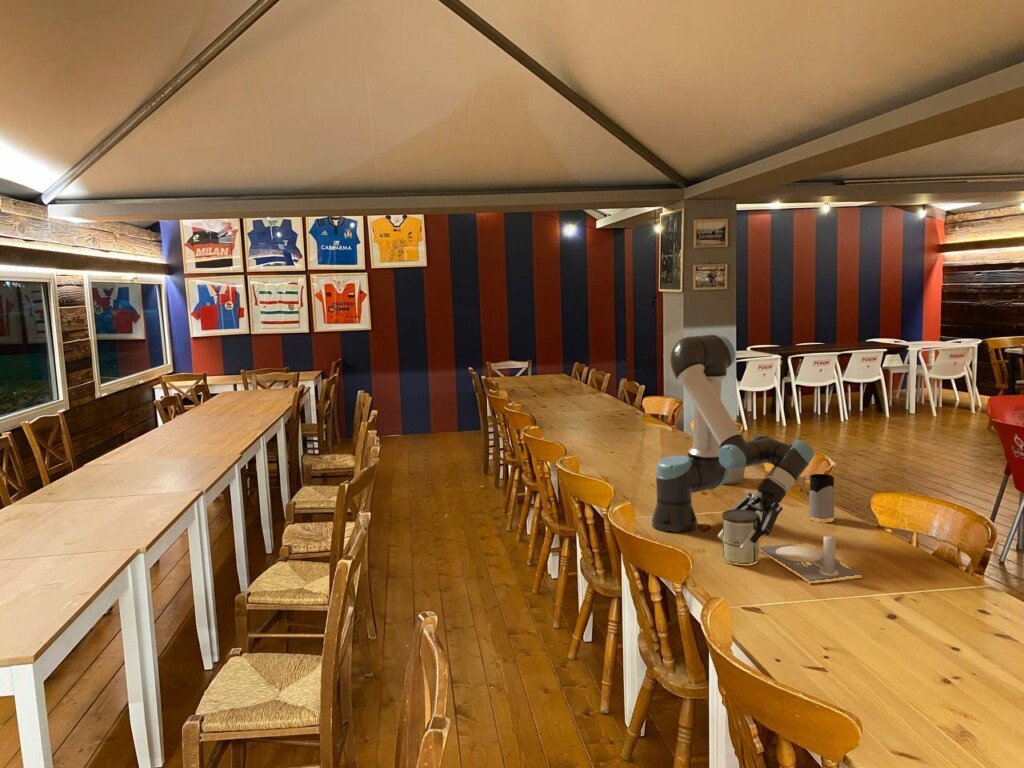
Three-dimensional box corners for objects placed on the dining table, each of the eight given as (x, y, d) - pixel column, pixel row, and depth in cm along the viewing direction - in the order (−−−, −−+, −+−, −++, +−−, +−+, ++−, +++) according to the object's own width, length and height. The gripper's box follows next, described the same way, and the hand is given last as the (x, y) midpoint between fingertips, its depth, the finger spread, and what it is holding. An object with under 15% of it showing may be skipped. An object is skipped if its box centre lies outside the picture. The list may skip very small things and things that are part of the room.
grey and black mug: (819, 524, 249) (819, 480, 247) (792, 512, 262) (792, 471, 260) (841, 521, 251) (841, 478, 249) (813, 510, 264) (814, 469, 263)
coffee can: (717, 555, 224) (717, 509, 222) (751, 553, 224) (751, 508, 222) (729, 567, 214) (728, 520, 212) (764, 565, 214) (764, 518, 212)
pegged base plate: (809, 584, 199) (809, 544, 198) (759, 551, 226) (759, 515, 224) (863, 578, 202) (863, 538, 201) (807, 546, 228) (807, 510, 227)
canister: (704, 486, 302) (704, 435, 299) (703, 475, 319) (703, 427, 317) (750, 487, 297) (750, 435, 295) (747, 476, 315) (747, 427, 312)
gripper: (810, 502, 211) (764, 564, 208) (758, 484, 232) (716, 540, 229) (795, 486, 209) (749, 548, 205) (744, 469, 230) (701, 525, 227)
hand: (731, 544), depth 217 cm, fingers closed on coffee can, 10 cm apart
